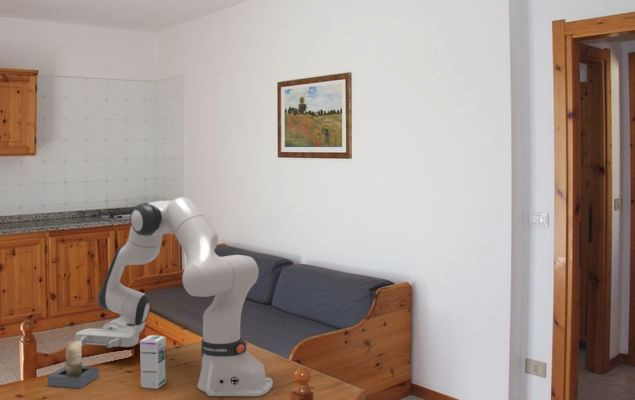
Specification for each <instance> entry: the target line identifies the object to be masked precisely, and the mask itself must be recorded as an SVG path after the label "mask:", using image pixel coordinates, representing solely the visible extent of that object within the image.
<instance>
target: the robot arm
mask: <svg viewBox="0 0 635 400" xmlns="http://www.w3.org/2000/svg"><path fill="white" fill-rule="evenodd" d="M129 219H130V225H131V226H130V230H129V233H128V238H127V240H126V243H125V244H122V245H121V246H119V247H118V249H117V250H116V252H115V254H114V256H113V257H112V261H111V263H110V266H109V269H108V271H107V274H106V275H105V279H104V282H103V284H102V286H101V287H100V290H99V292H98V293H97V294H98V295H97V302H98V305H99V307H100V308H101V309H103V310H106V311H109V312H113V313H116V314H118V315H120V316H119V317H117V318H114V319H113V320H110V321H109V322H106V323H105V324H104V325H103V327H102V328H90V327H89V328H86V329H82V330H79V331H77V332H75V335H74V339H75V340H74V341H81V347H84V346H86V345H92V346H105V348H108V349H110V348H117V347H122V348H131V347H134V346H136V345H138V344H139V343H140V341H139V339H140V333H141V332H142V331H143V330H144V328H145V325H146V321H147V319H148V317H149V315H150V313H151V309H152V307H151V306H152V305H151V300H150V297H149V296H148V294H146V293H144V292H141V291H139V290H136V289H132V288H130V287H128V286H125V285H123V284H122V283H121V282H120V281H121V278H122V276H123V272H124V270H125V267H126V266H130V265H131V266H133V265H135V266H139V265H142V266H143V265H146V264H149V263H150V262H153V261H154V260H156V258H157V257H158V256H159V255H160V254H159V253H160V251H161V247H162V241H163V235H171V234H174V237H175V238H176V240H177V241H178V244H179V245H180V247H181V248H182V250H183V251H184V254H185V256H186V261H187V264H186V266H185V268H184V270H183V271H182V278H181V279H182V280H181V281H182V285H183V288H184V289H185V291H186V292H187V293H188V294H189V295H190V296H191V297H202V298H203V297H204V298H206V297H207V298H208V297H212V296H213V297H214V298H213V301H212V302H211V304H210V305H209V306H208V307H207V308H206V309H205V311H204V312H203V316H202V339H201V345H200V353H201V367H200V374H199V379H198V383H197V385H196V387H197V388H198V389H199V390H200V391H202V392H204V393H205V394H206V395H207V396H208V397H261V396H263V395H266V394H267V393H269V392H270V390H271V389H272V388H273V386H274V383H273V379H272V378H271V377H269V376H267V377H266V369H265V366H264V364H263V362H261V360H258V358H256V357H255V356H253V355H252V354H251V353H249V352H248V351H247V346H248V340H244V339H242V338H241V318H242V311H243V306H244V303H245V302H246V301H245V300H246V298H247V295H248V294H249V291H250V290H251V288H252V287H253V286H254V285H255V284H256V283H257V280H258V278H259V266H258V263H257V262H256V261H255V259H254V258H253V257H252V256H249V255H242V254H231V255H226V256H219V255H218V254H216V251H215V249H216V248H217V246H218V242H219V236H218V233H217V232H216V230H215V229H214V227H213V226H212V224H211V223H210V222H209V220H208V218H207V217H206V216H205V214H204V212H202V210H201V209H200V208H199V207H198V205H196V203H195V202H194V201H192V200H191V199H190V198H189V197H185V196H181V197H180V196H179V197H177V198H174V199H173V200H156V201H152V202H143V203H139V204H137V205H135V206H134V207H133V208H132V210H131V213H130V218H129Z"/></svg>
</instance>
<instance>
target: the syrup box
mask: <svg viewBox="0 0 635 400" xmlns="http://www.w3.org/2000/svg"><path fill="white" fill-rule="evenodd" d="M166 337H167V336H166V335H165V336H164V335H158V334H154V335H153V334H152V335H151V334H150V335H148V336H147V337H145V338H143V339H141V340H140V341H139V345H140V346H139V351H140V352H139V353H140V356H139V357H140V358H139V359H140V360H139V361H140V387H141V388H145V389H153V390H154V389H155V390H157V389H158V390H159V388H161V387H162V386H163V385H164V384H166V383H167V382H168V381H167V338H166Z"/></svg>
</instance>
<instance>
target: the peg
mask: <svg viewBox="0 0 635 400" xmlns="http://www.w3.org/2000/svg"><path fill="white" fill-rule="evenodd" d="M82 356H83V355H82V346H81V341H75V340H69V341H67V342H65V366H66V375H72V376H78V375H80V374H82V366H83V365H82V364H83V362H82V361H83V360H82V359H83V358H82Z"/></svg>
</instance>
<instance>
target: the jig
mask: <svg viewBox="0 0 635 400" xmlns="http://www.w3.org/2000/svg"><path fill="white" fill-rule="evenodd" d="M99 377H100V367H99V366H87V365H85V366H83V365H82V374H80V375H78V376H72V375H66V365H65V366H63V367H62V368H59V369H58V370H56V371H54V372H52V373H51V374H49V375H47V387H56V388H68V389H78V390H80V389H82V388H84V387H85V386H87V385H88V384H89V383H90V384H91V382H94V381H95V380H96V379H98V378H99Z"/></svg>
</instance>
